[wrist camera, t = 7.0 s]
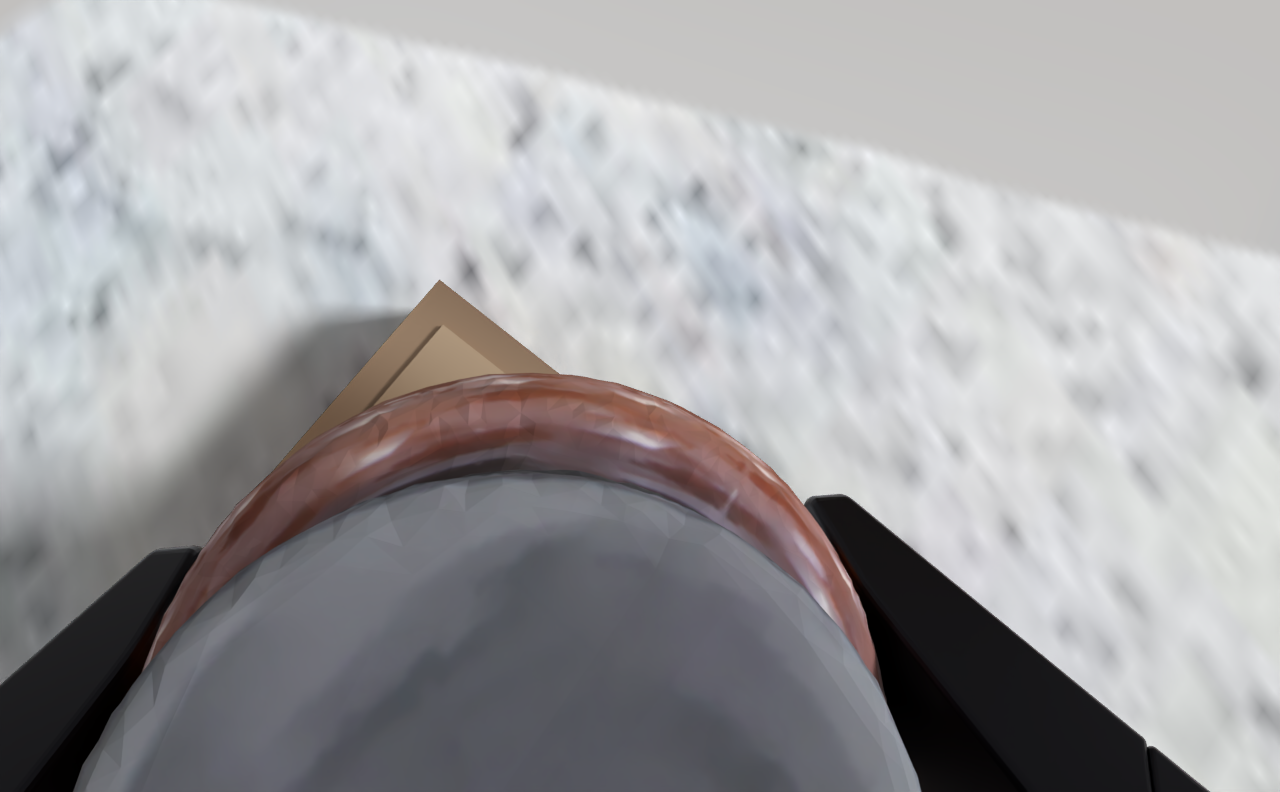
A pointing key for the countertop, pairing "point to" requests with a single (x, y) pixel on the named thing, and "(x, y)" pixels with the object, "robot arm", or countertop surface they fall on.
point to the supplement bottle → (512, 616)
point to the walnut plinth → (429, 357)
